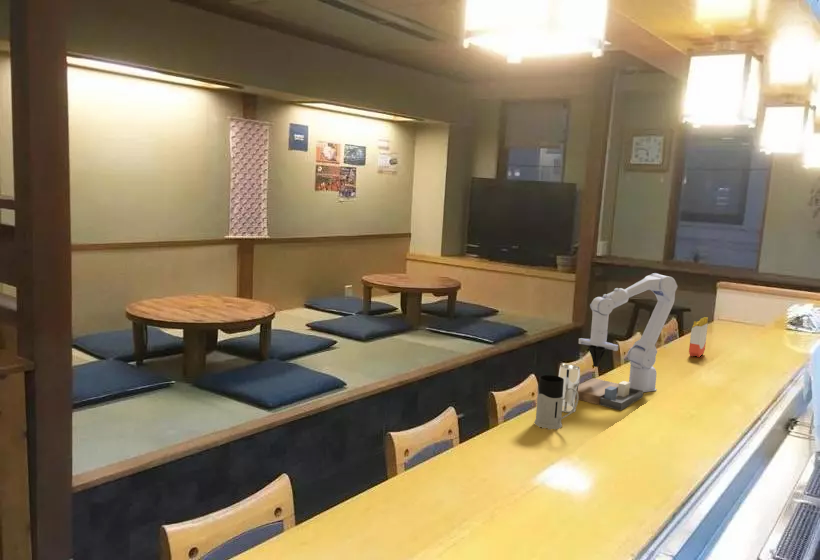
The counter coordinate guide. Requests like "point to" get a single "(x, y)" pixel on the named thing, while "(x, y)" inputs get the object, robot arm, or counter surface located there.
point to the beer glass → (569, 385)
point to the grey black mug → (551, 402)
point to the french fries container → (698, 337)
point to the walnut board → (593, 390)
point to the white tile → (623, 388)
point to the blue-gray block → (610, 393)
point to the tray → (623, 399)
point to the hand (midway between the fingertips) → (596, 366)
